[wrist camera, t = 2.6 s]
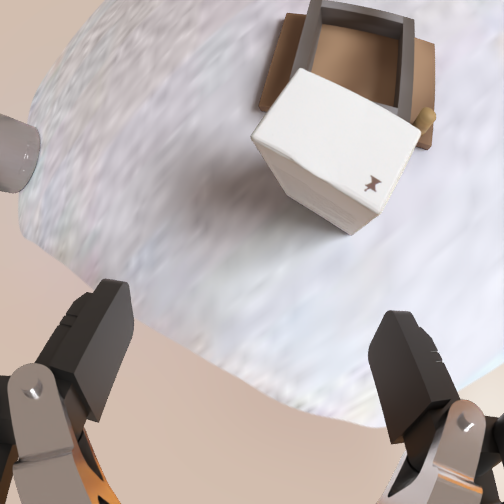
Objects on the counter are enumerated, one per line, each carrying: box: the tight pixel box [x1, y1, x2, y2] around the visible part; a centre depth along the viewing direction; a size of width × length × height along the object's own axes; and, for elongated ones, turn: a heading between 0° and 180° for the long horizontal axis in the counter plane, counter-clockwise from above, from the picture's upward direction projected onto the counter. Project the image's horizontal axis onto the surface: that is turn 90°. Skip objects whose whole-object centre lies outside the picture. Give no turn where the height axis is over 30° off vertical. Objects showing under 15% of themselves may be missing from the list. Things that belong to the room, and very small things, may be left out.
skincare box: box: [250, 68, 421, 236], centre depth 17 cm, size 6×4×12 cm
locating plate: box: [259, 0, 436, 150], centre depth 20 cm, size 14×11×4 cm
